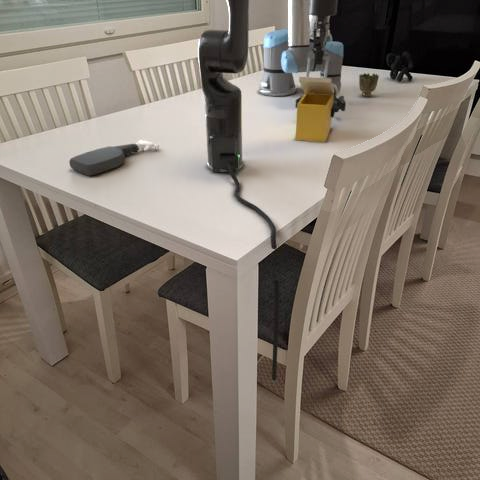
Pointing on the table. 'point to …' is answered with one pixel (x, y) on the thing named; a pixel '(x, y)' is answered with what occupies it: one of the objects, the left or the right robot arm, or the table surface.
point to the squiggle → (399, 66)
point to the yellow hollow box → (314, 117)
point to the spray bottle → (106, 157)
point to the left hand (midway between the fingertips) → (318, 63)
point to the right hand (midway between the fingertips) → (316, 111)
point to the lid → (317, 79)
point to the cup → (367, 83)
